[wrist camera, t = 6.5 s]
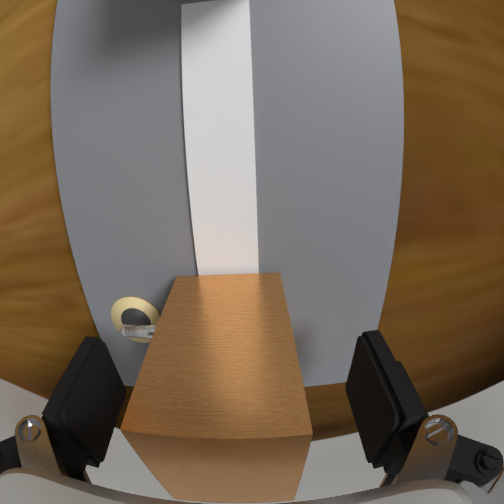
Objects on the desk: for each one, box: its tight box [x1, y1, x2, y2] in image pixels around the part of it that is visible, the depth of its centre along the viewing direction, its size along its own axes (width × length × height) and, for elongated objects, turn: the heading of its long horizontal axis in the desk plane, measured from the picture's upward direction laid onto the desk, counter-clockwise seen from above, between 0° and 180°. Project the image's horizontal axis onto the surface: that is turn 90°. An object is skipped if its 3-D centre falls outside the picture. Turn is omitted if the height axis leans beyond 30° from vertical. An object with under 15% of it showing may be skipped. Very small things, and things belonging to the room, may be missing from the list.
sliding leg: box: [120, 272, 313, 503], centre depth 9 cm, size 7×5×7 cm
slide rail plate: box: [51, 0, 404, 387], centre depth 8 cm, size 14×24×6 cm, turn 2°
